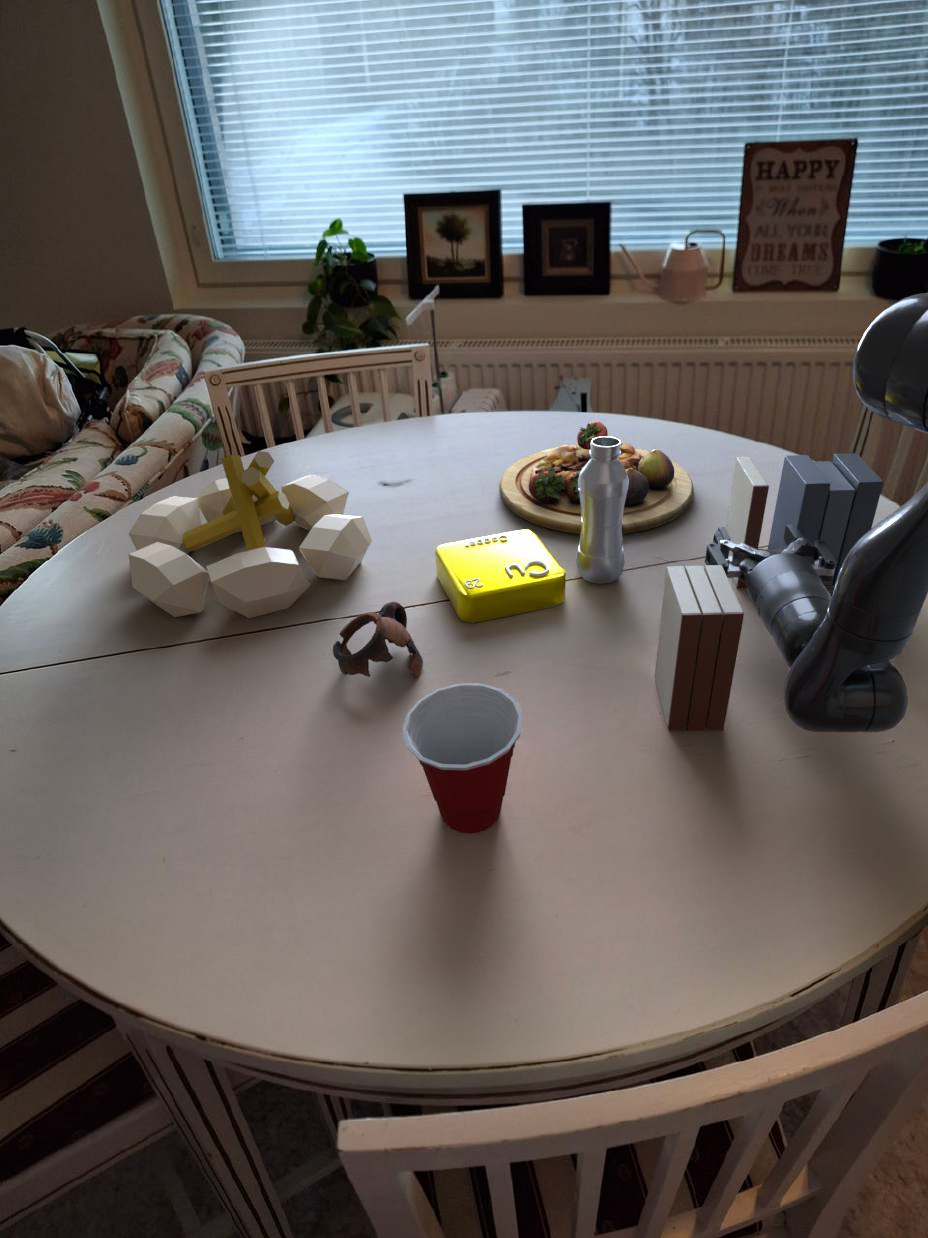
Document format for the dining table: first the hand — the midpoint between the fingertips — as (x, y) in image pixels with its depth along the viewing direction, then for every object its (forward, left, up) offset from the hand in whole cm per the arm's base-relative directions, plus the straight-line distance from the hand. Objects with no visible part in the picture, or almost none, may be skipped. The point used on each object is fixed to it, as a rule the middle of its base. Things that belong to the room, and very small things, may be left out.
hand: (753, 532), depth 103 cm
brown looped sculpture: (+47, +15, -9) cm, 50 cm away
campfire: (+70, -11, -9) cm, 71 cm away
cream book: (0, -5, -9) cm, 10 cm away
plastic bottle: (+19, -4, -9) cm, 21 cm away
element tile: (+33, -2, -9) cm, 34 cm away
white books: (+12, +23, -9) cm, 27 cm away
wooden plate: (+17, -31, -9) cm, 36 cm away
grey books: (-10, -5, -9) cm, 14 cm away
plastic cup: (+36, +39, -9) cm, 54 cm away
